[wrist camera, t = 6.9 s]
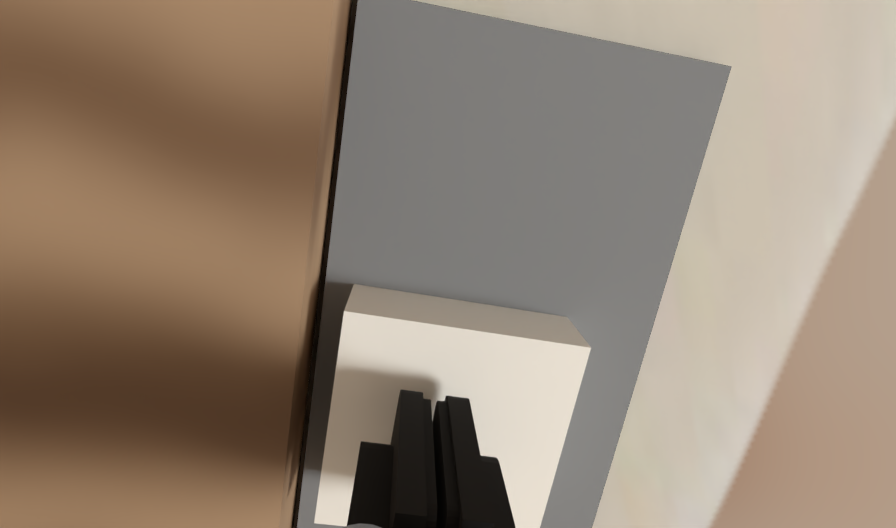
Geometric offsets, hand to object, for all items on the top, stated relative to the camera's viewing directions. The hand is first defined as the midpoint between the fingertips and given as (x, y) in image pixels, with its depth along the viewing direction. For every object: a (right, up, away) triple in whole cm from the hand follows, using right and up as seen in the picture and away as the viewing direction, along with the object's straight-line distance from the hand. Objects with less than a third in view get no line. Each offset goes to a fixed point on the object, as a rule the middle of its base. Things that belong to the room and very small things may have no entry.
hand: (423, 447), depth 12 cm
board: (-8, +3, +2) cm, 8 cm away
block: (0, +1, +3) cm, 3 cm away
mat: (+1, +1, +3) cm, 4 cm away
